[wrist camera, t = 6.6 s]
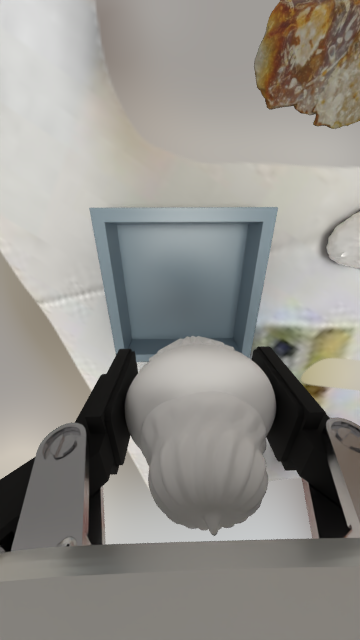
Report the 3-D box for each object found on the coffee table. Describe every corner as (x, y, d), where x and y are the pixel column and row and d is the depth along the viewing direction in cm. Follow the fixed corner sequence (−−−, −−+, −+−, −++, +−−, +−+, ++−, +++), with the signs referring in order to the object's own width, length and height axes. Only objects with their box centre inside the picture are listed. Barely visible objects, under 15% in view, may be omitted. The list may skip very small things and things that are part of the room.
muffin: (122, 332, 10) (22, 500, 4) (230, 294, 9) (354, 426, 3) (164, 406, 12) (150, 586, 6) (253, 382, 12) (346, 559, 5)
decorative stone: (447, 98, 15) (254, 127, 16) (395, 126, 18) (243, 147, 20) (541, -140, 10) (268, -65, 12) (448, -39, 14) (251, 6, 16)
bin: (257, 213, 22) (278, 207, 17) (237, 341, 29) (249, 360, 25) (107, 214, 22) (89, 207, 17) (126, 342, 29) (117, 362, 25)
